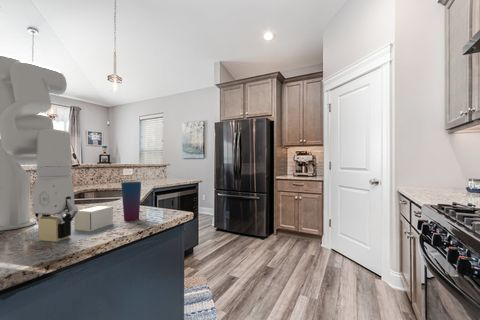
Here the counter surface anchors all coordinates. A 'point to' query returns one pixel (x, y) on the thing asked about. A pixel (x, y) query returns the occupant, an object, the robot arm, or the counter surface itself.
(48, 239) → the stub
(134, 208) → the cup
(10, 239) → the counter surface
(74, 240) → the board
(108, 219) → the white rectangular box
